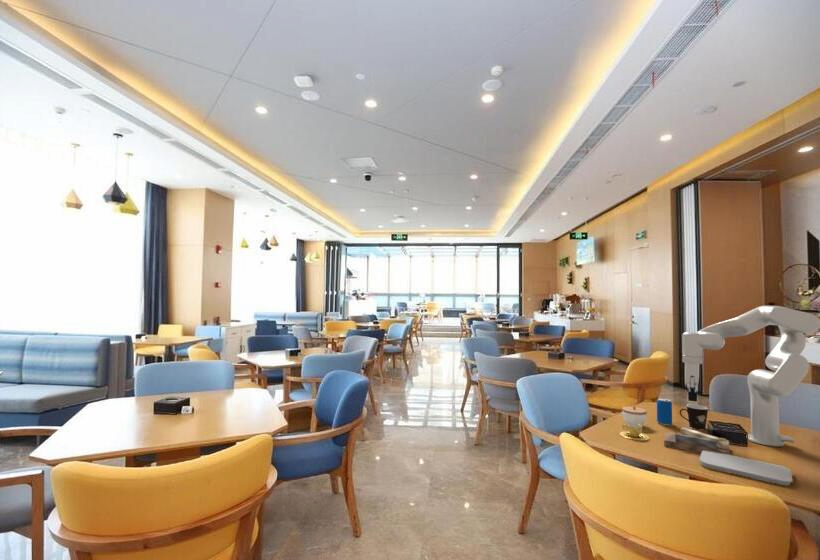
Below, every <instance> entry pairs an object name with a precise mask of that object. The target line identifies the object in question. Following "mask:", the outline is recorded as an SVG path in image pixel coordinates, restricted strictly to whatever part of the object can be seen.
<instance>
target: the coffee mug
mask: <svg viewBox="0 0 820 560" xmlns="http://www.w3.org/2000/svg"><path fill="white" fill-rule="evenodd" d="M682 411H686V412H687V417H685V416H683V415H682ZM708 411H709V408H708V406H704V405H698V404H686V408H681V409H680V410H679V415H680V416H681V417H682V418H683V419H684V420H686V421H687V422H688V425H689V428H691V427H692V428H691V429H694V428H695V429H694V430H699V429H704V430H706V429H707V428H706V427H707V419H708ZM705 428H706V429H705Z"/></svg>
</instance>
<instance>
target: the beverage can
mask: <svg viewBox="0 0 820 560" xmlns="http://www.w3.org/2000/svg"><path fill="white" fill-rule="evenodd" d="M656 422H657V423H658V424H659V423H660V425H662V424H663V425H664V426H671V425H672V424H673V403H672V399H669V398H664V397H663V398H662V397H660V398H657V400H656Z"/></svg>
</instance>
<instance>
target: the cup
mask: <svg viewBox="0 0 820 560" xmlns="http://www.w3.org/2000/svg"><path fill="white" fill-rule="evenodd" d="M621 427H622V429H623V431H622V430H621V431H620V432H619V435H620V436H621V437H623V438H625V439H628V440H629V439H630V440H632V439H633V441H642V442H643V441H648V440H649V439H650V437H649V436H648V435H647V434H645V433H643V425H641V424H638V423H624V424H622V426H621ZM625 427H626V428H625ZM627 433H629V434H627ZM626 434H627V435H626ZM640 435H641V436H643V438H642V437H641V436H640ZM628 436H629V437H628ZM639 437H640V438H639Z"/></svg>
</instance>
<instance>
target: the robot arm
mask: <svg viewBox="0 0 820 560" xmlns="http://www.w3.org/2000/svg"><path fill="white" fill-rule="evenodd" d="M767 326H777V327H778V330H779V332H780V338H779V340H778V341H777V343H776V344H775V346H774V347H773V348H772V349H771V351H770V352H769V354H767V356H766V358H765V361H764V363H765V365H766V367H767V368H768V369H770V370H767V369H761V368H760V369H757V368H756V369H754V370H751V371H750V372H749V374H748V375H747V386H748V390H749V398H750V401H749V402H750V433H749V434H747V435H748V439H747V440H748V441H750V442H753V443H755V444H759V445H764V446H769V447H777V448H778V447H784V446H785V442H789V443H793V444H794V443H795V438H794V437H790V436H789V435H787V436H786V435H782V434H781V433H780V405H779V399H778V397H781V398H782V397H783V398H784V397H787V396H789V395H790V394H792V393H793V392H794V391H795V390H796V388H797V387H798V386H799V385H800V384H801V382H802V381H803V379H805V377H806V375H807V374H808V372H809V370H810V363H809V360H808V359H807V358H806V357H805V356H803V355H802V353H803V351H804V349H805V347H806V338H805V335H804V334H813V333H816V332H817V331H819V329H820V318H819V317H818V316H816V315H814V314H812V313H809V312H806V311H801V310H797V309H792V308H789V307H785V306H780V305H760V306H757V307H756V308H753V309H751V310H749V311H746V312H745V313H743V314H741V315H738V316H736V317H734V318H731V319H727V320H724V321H720V322H718V323H717V322H716V323H714V324H711V325H708V326H706V327H704V328H702V329H699V330H698V331H696V332H693V331H692V332H691V331H686V332H685V331H684V332H683V333H682V334H681V338H682V339H681V341H682V342H681V347H682V348H681V353H682V356H681V357H682V358H681V360H682V363H684V385H688V392H687V393H688V394H687V395H688V399H687V400H688V401H690V402H695V403H696V402H697V401H698V390H697V386H699V383H700V382H699V380H700V365H702V364H703V349H705V350H706V349H707V350H712V351H713V350H715V351H716V350H720V349H722V348H723V347H724V346H726V345H725V343H726V340H725V339H726V338H732V337H733V338H735V337H743V336H747V335H749V334H752V333H754V332H756V331H758V330H760V329H763V328H765V327H767Z"/></svg>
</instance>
